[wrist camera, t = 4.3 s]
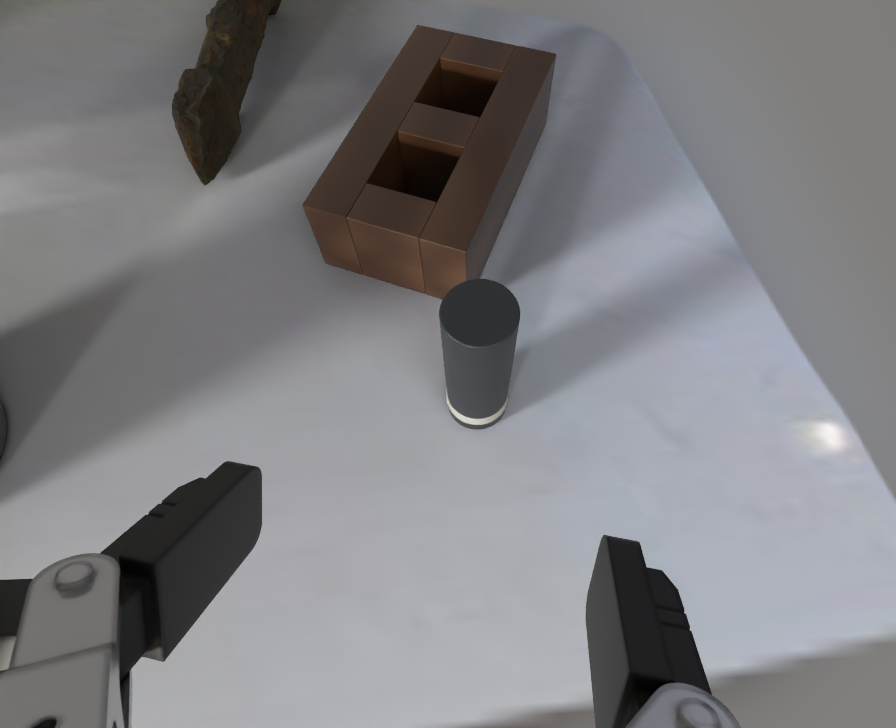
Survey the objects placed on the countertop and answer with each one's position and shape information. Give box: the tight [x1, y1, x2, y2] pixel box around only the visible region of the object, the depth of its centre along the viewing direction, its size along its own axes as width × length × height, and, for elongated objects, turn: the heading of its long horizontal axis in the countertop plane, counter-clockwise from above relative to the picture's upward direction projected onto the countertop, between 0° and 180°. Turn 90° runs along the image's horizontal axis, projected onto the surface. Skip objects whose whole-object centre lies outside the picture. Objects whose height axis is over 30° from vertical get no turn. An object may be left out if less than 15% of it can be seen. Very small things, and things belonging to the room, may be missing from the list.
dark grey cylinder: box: [439, 279, 520, 429], centre depth 24 cm, size 3×3×9 cm
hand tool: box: [172, 0, 281, 185], centre depth 37 cm, size 19×4×5 cm, turn 176°
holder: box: [303, 25, 556, 299], centre depth 32 cm, size 9×16×5 cm, turn 159°
